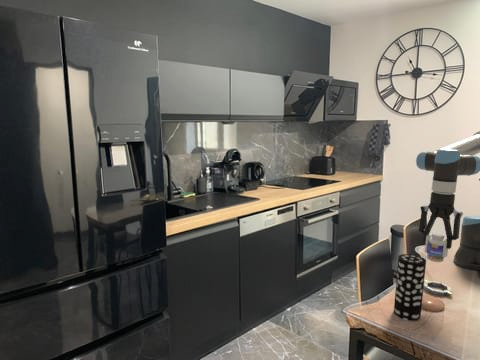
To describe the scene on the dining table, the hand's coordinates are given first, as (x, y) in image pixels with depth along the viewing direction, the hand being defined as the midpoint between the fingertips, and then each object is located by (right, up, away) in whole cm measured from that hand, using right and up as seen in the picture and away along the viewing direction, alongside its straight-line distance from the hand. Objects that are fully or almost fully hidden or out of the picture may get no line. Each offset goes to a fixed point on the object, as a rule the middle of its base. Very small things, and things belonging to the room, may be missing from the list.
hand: (435, 254), depth 129 cm
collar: (+5, -16, +8) cm, 18 cm away
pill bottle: (0, -2, 0) cm, 3 cm away
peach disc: (-4, -17, -3) cm, 18 cm away
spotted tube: (-15, -19, -10) cm, 26 cm away
